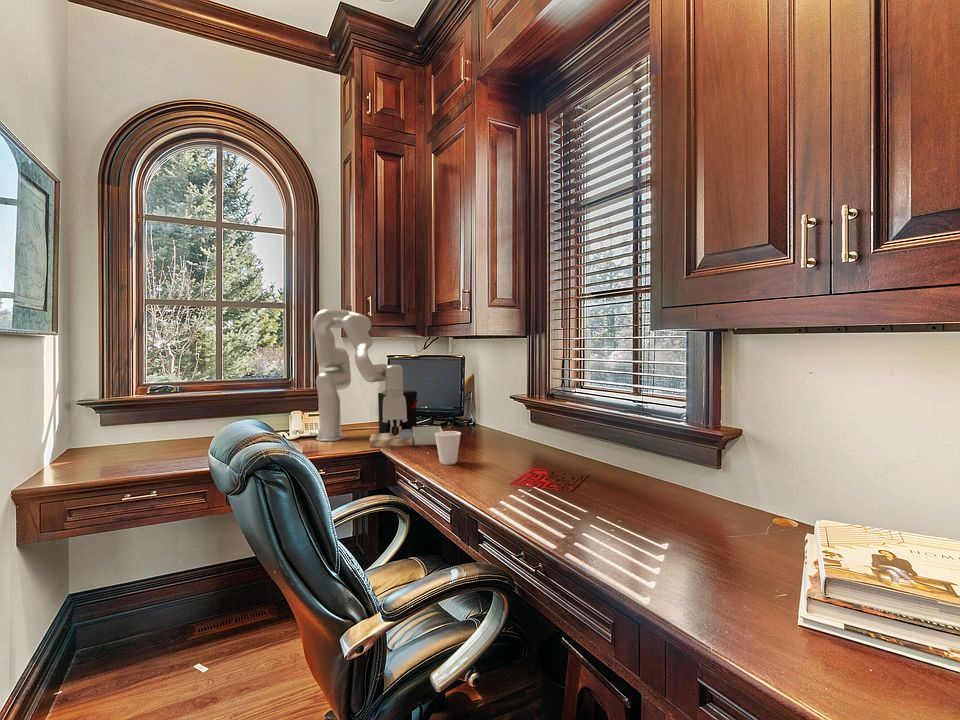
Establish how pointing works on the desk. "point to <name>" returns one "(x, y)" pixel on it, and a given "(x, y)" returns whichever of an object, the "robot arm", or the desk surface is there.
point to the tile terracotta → (391, 430)
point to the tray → (425, 435)
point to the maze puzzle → (534, 480)
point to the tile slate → (405, 433)
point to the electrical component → (410, 407)
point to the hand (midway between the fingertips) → (395, 435)
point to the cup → (448, 446)
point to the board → (388, 440)
